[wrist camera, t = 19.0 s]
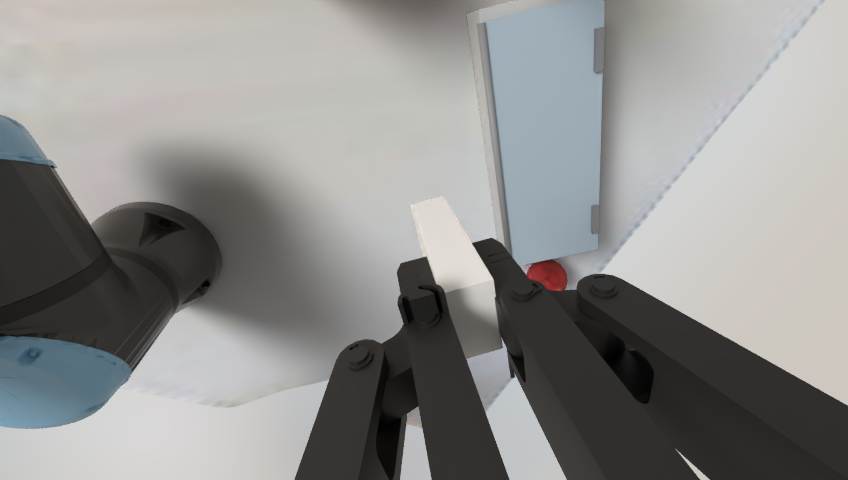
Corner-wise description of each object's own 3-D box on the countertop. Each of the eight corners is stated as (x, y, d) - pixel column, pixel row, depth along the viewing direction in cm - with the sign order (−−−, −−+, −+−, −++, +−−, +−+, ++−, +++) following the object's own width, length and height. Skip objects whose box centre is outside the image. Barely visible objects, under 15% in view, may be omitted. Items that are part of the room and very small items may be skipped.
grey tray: (498, 246, 55) (509, 263, 50) (466, 14, 39) (478, 9, 35) (572, 226, 55) (589, 241, 50) (568, -13, 40) (593, -21, 35)
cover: (508, 270, 49) (599, 251, 48) (477, 23, 34) (608, -10, 33) (506, 265, 50) (595, 246, 49) (475, 24, 35) (600, -8, 35)
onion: (522, 284, 59) (543, 315, 52) (516, 257, 56) (537, 286, 49) (555, 273, 59) (580, 303, 52) (551, 245, 56) (577, 273, 49)
